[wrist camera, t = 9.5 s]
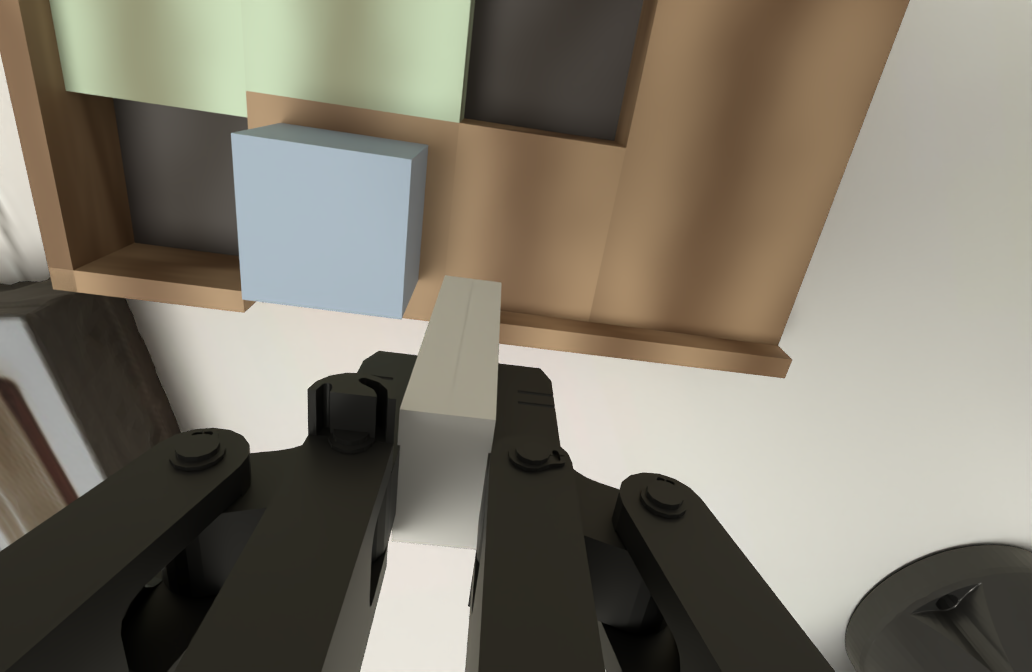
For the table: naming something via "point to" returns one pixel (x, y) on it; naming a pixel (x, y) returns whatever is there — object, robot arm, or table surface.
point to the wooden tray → (469, 149)
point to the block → (328, 218)
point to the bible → (70, 399)
